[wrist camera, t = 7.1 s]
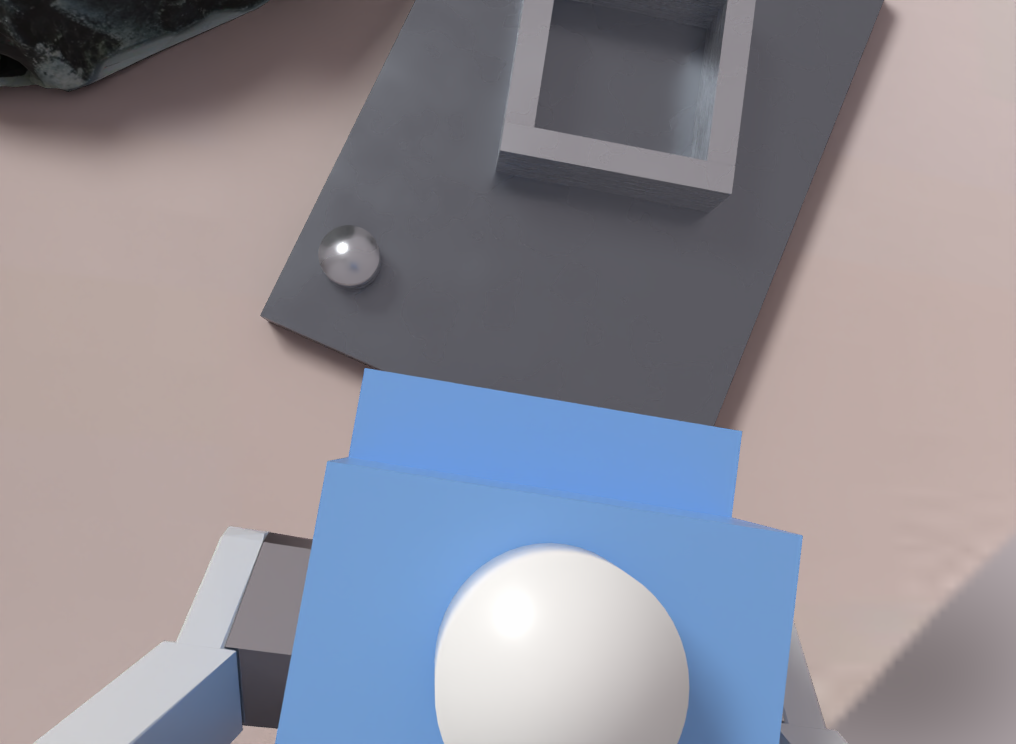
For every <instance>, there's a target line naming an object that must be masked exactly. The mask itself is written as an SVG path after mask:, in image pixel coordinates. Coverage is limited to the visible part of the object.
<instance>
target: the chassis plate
mask: <svg viewBox="0 0 1016 744" xmlns="http://www.w3.org/2000/svg"><path fill="white" fill-rule="evenodd" d="M883 1H884V0H416V1H415V3H414V5H413V7H412V9H411V11H410V13H409V15H408V17H407V19H406V21H405V23H404V25H403V27H402V29H401V31H400V33H399V35H398V37H397V39H396V41H395V43H394V45H393V47H392V49H391V51H390V53H389V55H388V57H387V59H386V61H385V64H384V66H383V68H382V70H381V72H380V74H379V76H378V78H377V80H376V82H375V84H374V86H373V88H372V90H371V92H370V94H369V96H368V98H367V100H366V102H365V104H364V106H363V108H362V110H361V112H360V114H359V116H358V118H357V120H356V122H355V124H354V126H353V128H352V130H351V132H350V135H349V137H348V139H347V141H346V143H345V145H344V147H343V149H342V151H341V153H340V155H339V157H338V159H337V161H336V163H335V165H334V167H333V169H332V171H331V173H330V175H329V177H328V179H327V181H326V183H325V185H324V187H323V189H322V191H321V193H320V195H319V197H318V199H317V201H316V203H315V205H314V208H313V210H312V212H311V214H310V216H309V218H308V220H307V222H306V224H305V226H304V228H303V230H302V232H301V234H300V236H299V238H298V240H297V242H296V244H295V246H294V248H293V250H292V252H291V254H290V256H289V258H288V260H287V262H286V264H285V266H284V268H283V270H282V272H281V274H280V276H279V279H278V281H277V283H276V285H275V287H274V289H273V291H272V293H271V295H270V297H269V299H268V301H267V303H266V305H265V307H264V309H263V311H262V313H261V315H260V316H261V317H263V318H264V319H266V320H267V321H269V322H272V323H274V324H276V325H278V326H281V327H283V328H285V329H287V330H290V331H292V332H294V333H296V334H299V335H301V336H303V337H305V338H308V339H310V340H312V341H314V342H317V343H319V344H321V345H323V346H326V347H328V348H330V349H332V350H334V351H337V352H339V353H341V354H343V355H346V356H348V357H350V358H352V359H355V360H357V361H359V362H361V363H364V364H366V365H368V366H370V367H373V368H375V369H377V370H380V371H386V372H392V373H398V374H404V375H410V376H416V377H422V378H428V379H434V380H440V381H446V382H452V383H457V384H463V385H469V386H475V387H481V388H487V389H493V390H499V391H505V392H511V393H517V394H523V395H529V396H535V397H541V398H547V399H553V400H559V401H565V402H571V403H577V404H583V405H589V406H594V407H600V408H606V409H612V410H618V411H624V412H630V413H636V414H642V415H648V416H654V417H660V418H666V419H672V420H678V421H684V422H690V423H696V424H702V425H708V426H714V424H715V422H716V419H717V417H718V414H719V412H720V409H721V407H722V404H723V402H724V399H725V397H726V394H727V392H728V389H729V387H730V384H731V382H732V379H733V376H734V374H735V371H736V369H737V366H738V364H739V361H740V359H741V356H742V354H743V351H744V349H745V346H746V344H747V341H748V339H749V336H750V334H751V331H752V329H753V326H754V324H755V321H756V319H757V316H758V314H759V311H760V309H761V306H762V304H763V301H764V299H765V296H766V294H767V291H768V289H769V286H770V284H771V281H772V279H773V276H774V274H775V271H776V269H777V266H778V264H779V261H780V259H781V256H782V254H783V251H784V249H785V246H786V244H787V241H788V239H789V236H790V234H791V231H792V229H793V226H794V224H795V221H796V219H797V216H798V214H799V211H800V209H801V206H802V204H803V201H804V199H805V196H806V194H807V191H808V189H809V186H810V184H811V181H812V179H813V176H814V174H815V171H816V169H817V166H818V164H819V161H820V159H821V156H822V154H823V151H824V149H825V146H826V144H827V141H828V139H829V136H830V134H831V131H832V129H833V126H834V124H835V121H836V119H837V116H838V114H839V111H840V109H841V106H842V104H843V101H844V99H845V96H846V94H847V91H848V89H849V86H850V84H851V81H852V79H853V76H854V74H855V71H856V69H857V66H858V64H859V61H860V59H861V56H862V54H863V51H864V49H865V46H866V44H867V41H868V39H869V36H870V34H871V31H872V29H873V26H874V24H875V21H876V19H877V16H878V13H879V11H880V8H881V6H882V3H883Z"/></svg>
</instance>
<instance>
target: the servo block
mask: <svg viewBox="0 0 1016 744" xmlns="http://www.w3.org/2000/svg"><path fill="white" fill-rule="evenodd" d="M741 436H742V431H737V430H731V429H725V428H720V427H714V426H708V425H702V424H696V423H690V422H684V421H678V420H672V419H666V418H660V417H654V416H648V415H642V414H636V413H630V412H624V411H618V410H612V409H606V408H600V407H594V406H589V405H583V404H577V403H571V402H565V401H559V400H553V399H547V398H541V397H535V396H529V395H523V394H517V393H511V392H505V391H499V390H493V389H487V388H481V387H475V386H469V385H463V384H457V383H452V382H446V381H440V380H434V379H428V378H422V377H416V376H410V375H404V374H398V373H392V372H386V371H380V370H374V369H368V368H365V369H364V375H363V380H362V386H361V391H360V397H359V402H358V408H357V413H356V419H355V424H354V430H353V435H352V441H351V446H350V452H349V457H347V458H342V459H336V460H331V461H327V466H326V471H325V477H324V482H323V488H322V493H321V498H320V504H319V509H318V515H317V520H316V525H315V531H314V536H313V542H312V547H311V552H310V558H309V563H308V569H307V574H306V579H305V585H304V590H303V596H302V601H301V606H300V612H299V617H298V623H297V628H296V633H295V639H294V644H293V650H292V655H291V660H290V666H289V671H288V677H287V682H286V687H285V693H284V698H283V704H282V709H281V714H280V720H279V725H278V731H277V736H276V741H275V744H779V740H780V731H781V722H782V713H783V705H784V696H785V687H786V678H787V669H788V661H789V652H790V643H791V634H792V626H793V617H794V608H795V599H796V590H797V582H798V573H799V564H800V555H801V546H802V538H803V536H802V535H799V534H795V533H791V532H787V531H783V530H779V529H775V528H771V527H767V526H763V525H759V524H755V523H751V522H747V521H744V520H740V519H736V518H732V509H733V501H734V493H735V485H736V477H737V469H738V461H739V452H740V444H741Z"/></svg>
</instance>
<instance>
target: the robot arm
mask: <svg viewBox="0 0 1016 744" xmlns="http://www.w3.org/2000/svg"><path fill="white" fill-rule="evenodd" d="M312 542H313V539H308V538H302V537H295V536H289V535H283V534H277V533H271V532H267V531H260V530H253V529H247V528H240V527H233V526H229V527H228V528H227V530H226V531H225V532H224V534H223V535H222V536H221V538H220V540H219V542H218V545H217V547H216V549H215V552H214V554H213V556H212V559H211V561H210V563H209V566H208V568H207V570H206V573H205V575H204V578H203V580H202V582H201V585H200V587H199V589H198V592H197V594H196V596H195V599H194V601H193V603H192V606H191V608H190V610H189V613H188V615H187V617H186V620H185V622H184V624H183V627H182V629H181V631H180V634H179V636H178V638H177V641H176V642H172V641H163V642H161V643H160V644H159V645H158V646H156V647H155V648H154V649H152V650H151V651H150V652H149V653H147V654H146V655H145V656H144V657H142V658H141V659H140V660H138V661H137V662H136V663H135V664H133V665H132V666H131V667H130V668H128V669H127V670H126V671H124V672H123V673H122V674H121V675H119V676H118V677H117V678H116V679H114V680H113V681H112V682H110V683H109V684H108V685H107V686H105V687H104V688H103V689H102V690H100V691H99V692H98V693H97V694H95V695H94V696H93V697H91V698H90V699H89V700H88V701H86V702H85V703H84V704H83V705H81V706H80V707H79V708H77V709H76V710H75V711H74V712H72V713H71V714H70V715H69V716H67V717H66V718H65V719H63V720H62V721H61V722H60V723H58V724H57V725H56V726H55V727H53V728H52V729H51V730H49V731H48V732H47V733H46V734H44V735H43V736H42V737H41V738H39V739H38V740H37V741H35V742H34V743H33V744H230V743H231V742H232V741H233V740H234V739H235V738H236V737H237V736H238V735H239V733H240V732H241V731H242V730H243V728H242V725H245V726H256V727H266V728H276V729H278V725H279V720H280V714H281V709H282V704H283V698H284V693H285V687H286V682H287V677H288V671H289V666H290V660H291V655H292V650H293V644H294V639H295V633H296V628H297V623H298V617H299V612H300V606H301V601H302V596H303V590H304V585H305V579H306V574H307V569H308V563H309V558H310V552H311V547H312ZM779 744H848V742H847V741H846V740H845V739H844V738H843V737H842V735H841V734H840V733H839V732H838V731H837V730H832V729H827V728H826V726H825V722H824V719H823V716H822V712H821V709H820V706H819V703H818V699H817V696H816V693H815V689H814V686H813V683H812V679H811V676H810V673H809V670H808V666H807V663H806V660H805V656H804V653H803V650H802V646H801V643H800V640H799V637H798V633H797V630H796V627H795V623H794V620H793V626H792V634H791V643H790V652H789V661H788V669H787V678H786V687H785V696H784V705H783V713H782V722H781V731H780V740H779Z"/></svg>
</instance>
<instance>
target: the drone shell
mask: <svg viewBox="0 0 1016 744" xmlns="http://www.w3.org/2000/svg"><path fill="white" fill-rule="evenodd" d="M268 1H269V0H0V86H10V87H19V86H27V85H34V84H37V85H39V86H42V87H44V88H58V89H62V90H65V91H68V92H69V91H72V90H75V89H78V88H81V87H84V86H87V85H89V84H91V83H94V82H96V81H98V80H100V79H102V78H104V77H106V76H108V75H110V74H113V73H115V72H117V71H119V70H121V69H123V68H125V67H127V66H129V65H131V64H134V63H136V62H138V61H140V60H142V59H144V58H146V57H148V56H150V55H152V54H155V53H157V52H159V51H161V50H163V49H166V48H168V47H170V46H173V45H175V44H177V43H179V42H182V41H184V40H186V39H189V38H191V37H193V36H195V35H198V34H200V33H202V32H205V31H207V30H209V29H212V28H214V27H216V26H218V25H221V24H223V23H225V22H228V21H230V20H232V19H234V18H237V17H239V16H241V15H244V14H246V13H248V12H250V11H253V10H255V9H257V8H259V7H260V6H262V5H263V4H265V3H266V2H268Z"/></svg>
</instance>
